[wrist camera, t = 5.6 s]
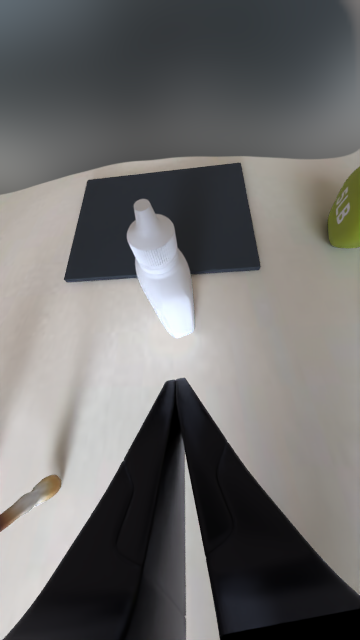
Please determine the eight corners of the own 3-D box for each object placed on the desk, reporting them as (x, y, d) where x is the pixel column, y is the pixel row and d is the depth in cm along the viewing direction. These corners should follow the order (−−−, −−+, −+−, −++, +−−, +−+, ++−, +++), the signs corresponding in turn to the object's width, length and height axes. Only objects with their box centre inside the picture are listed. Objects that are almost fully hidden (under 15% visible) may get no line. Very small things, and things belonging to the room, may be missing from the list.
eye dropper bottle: (150, 336, 18) (72, 256, 7) (160, 287, 20) (111, 161, 9) (193, 341, 18) (183, 264, 6) (199, 290, 19) (201, 160, 8)
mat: (259, 270, 20) (260, 266, 19) (67, 282, 22) (63, 279, 21) (239, 167, 25) (240, 162, 25) (89, 184, 27) (87, 179, 27)
